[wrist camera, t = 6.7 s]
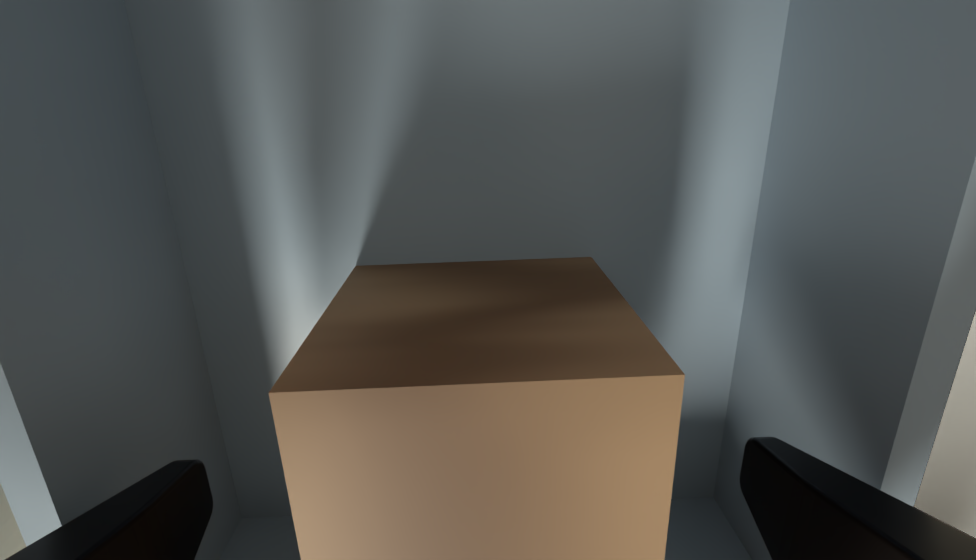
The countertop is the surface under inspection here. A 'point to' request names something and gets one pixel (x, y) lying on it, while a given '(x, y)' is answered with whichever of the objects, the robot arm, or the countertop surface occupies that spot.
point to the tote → (478, 221)
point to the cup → (8, 530)
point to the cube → (479, 417)
